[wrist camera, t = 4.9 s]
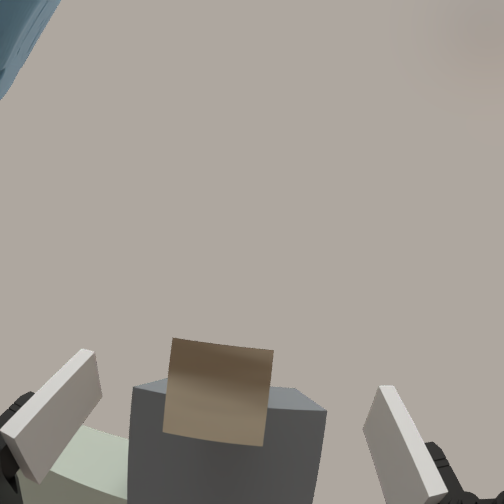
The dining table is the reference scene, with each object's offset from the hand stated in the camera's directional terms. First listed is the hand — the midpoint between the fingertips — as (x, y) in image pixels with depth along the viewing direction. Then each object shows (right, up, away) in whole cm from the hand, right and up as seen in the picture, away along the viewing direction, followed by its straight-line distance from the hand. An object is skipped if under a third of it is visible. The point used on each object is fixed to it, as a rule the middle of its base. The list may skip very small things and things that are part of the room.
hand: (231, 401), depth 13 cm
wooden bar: (-1, -5, +9) cm, 10 cm away
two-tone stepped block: (-11, -34, +6) cm, 36 cm away
